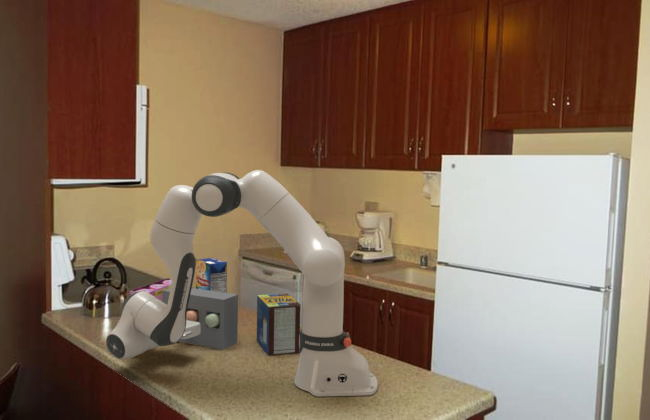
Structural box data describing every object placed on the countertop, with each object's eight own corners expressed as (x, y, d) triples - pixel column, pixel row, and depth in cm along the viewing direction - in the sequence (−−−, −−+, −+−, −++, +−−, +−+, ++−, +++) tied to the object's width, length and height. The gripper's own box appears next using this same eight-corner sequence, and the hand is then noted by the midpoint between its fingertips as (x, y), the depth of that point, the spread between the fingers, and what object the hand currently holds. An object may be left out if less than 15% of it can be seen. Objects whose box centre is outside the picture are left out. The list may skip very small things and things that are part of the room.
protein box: (286, 338, 191) (287, 292, 189) (300, 353, 176) (301, 304, 175) (255, 340, 187) (256, 294, 186) (267, 356, 173) (268, 306, 171)
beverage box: (209, 324, 204) (210, 264, 202) (195, 317, 212) (196, 259, 211) (226, 321, 208) (227, 262, 207) (211, 314, 217) (212, 257, 215)
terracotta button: (200, 322, 182) (200, 310, 181) (192, 325, 178) (192, 313, 178) (189, 320, 183) (189, 308, 183) (182, 323, 180) (182, 311, 179)
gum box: (168, 312, 219) (168, 277, 218) (185, 314, 216) (186, 279, 215) (128, 328, 196) (128, 290, 195) (148, 331, 194) (148, 292, 193)
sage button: (223, 325, 180) (223, 312, 179) (215, 328, 176) (216, 315, 176) (212, 323, 181) (212, 311, 181) (205, 326, 177) (205, 313, 177)
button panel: (237, 342, 184) (238, 294, 183) (223, 349, 177) (224, 299, 176) (177, 332, 194) (177, 286, 192) (162, 338, 186) (162, 290, 185)
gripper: (183, 325, 160) (212, 314, 173) (127, 316, 168) (158, 305, 181) (183, 347, 161) (212, 334, 173) (127, 336, 169) (158, 325, 182)
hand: (184, 319), depth 177 cm, fingers closed
